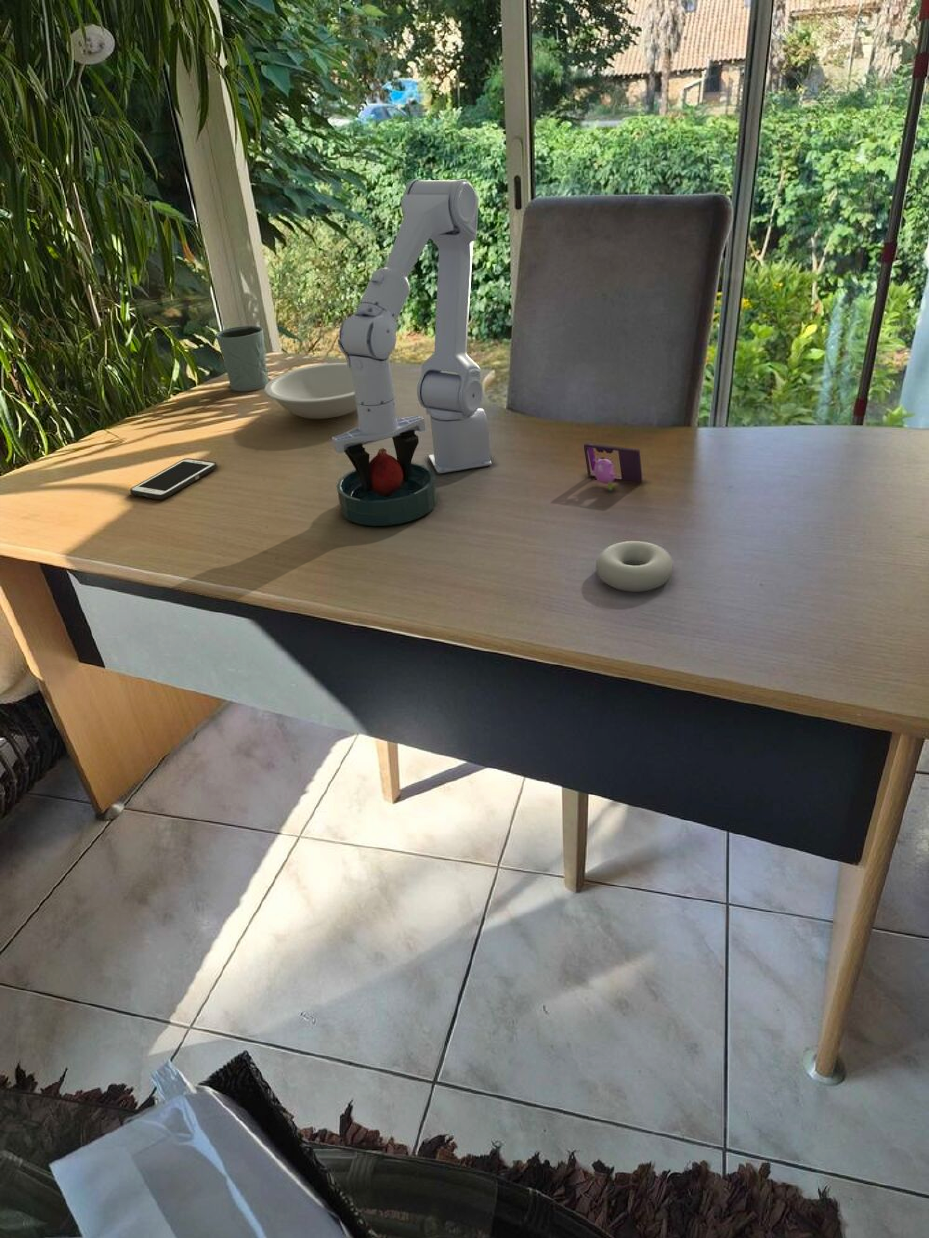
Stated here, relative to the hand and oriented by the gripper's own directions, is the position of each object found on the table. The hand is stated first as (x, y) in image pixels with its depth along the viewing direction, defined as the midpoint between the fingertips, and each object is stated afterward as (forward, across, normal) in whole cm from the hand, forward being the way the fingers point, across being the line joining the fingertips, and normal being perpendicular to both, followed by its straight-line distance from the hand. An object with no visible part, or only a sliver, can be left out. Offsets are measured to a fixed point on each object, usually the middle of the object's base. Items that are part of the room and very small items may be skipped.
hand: (386, 484), depth 136 cm
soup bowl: (+4, -9, -48) cm, 49 cm away
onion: (+2, 0, 0) cm, 2 cm away
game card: (+4, -32, +15) cm, 36 cm away
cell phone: (+4, +26, -33) cm, 42 cm away
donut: (+4, -17, +40) cm, 44 cm away
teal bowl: (+4, 0, 0) cm, 4 cm away
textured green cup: (+4, -1, -78) cm, 78 cm away
